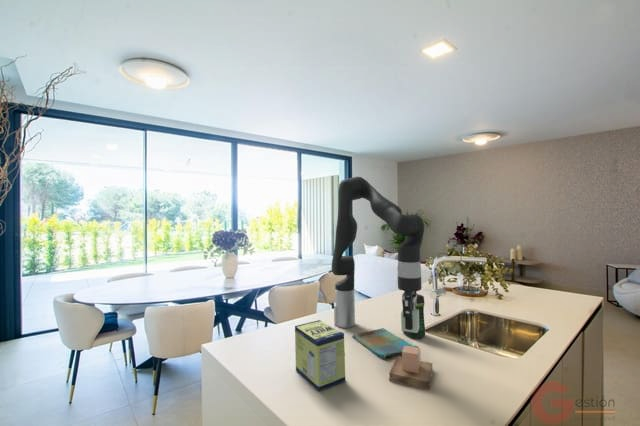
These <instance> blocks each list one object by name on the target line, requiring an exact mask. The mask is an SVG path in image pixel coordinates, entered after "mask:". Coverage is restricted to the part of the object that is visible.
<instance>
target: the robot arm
mask: <svg viewBox="0 0 640 426" xmlns="http://www.w3.org/2000/svg"><path fill="white" fill-rule="evenodd" d="M337 192H338V193H337V194H338V196H337V198H338V199H337V201H338V202H337V203H338V205H337V207H338V208H337V220H336V227H335V238H334V239H335V241H334V242H335V243H334V249H333V255H332V260H331V272H332V274H333V275H334V276H345V277H344V278H343V279H341V280H340V281H337V282H336V283H335V285H334V287H335V288H334V289H335V291H334V292H335V304H334V305H333V311H334V312H333V313H334V314H333V315H334V316H333V317H334V319H333V320H334V326H337V327H339V328H344V329H345V328H347V329H349V328H353V327H354V326H355V325H356V314H355V313H356V310H355V309H356V307H355V302H356V300H355V266H356V265H355V258H354V257H353V256H352V255H343V254H344V253H345V252H346V251H347V250H348V249H349V247H351V246H352V245H353V243H354V242H355V240H356V239H357V232H358V222H357V220H356V219H355V217H354V215H353V214H352V212H351V203H352V202H353V201H356V200H357V201H358V200H360V199H365V200H367V201H369V203H370V208H371V211H372V212H373V213H374V214H375V216H377V217H378V218H380V219H381V220H383V222H385V223H386V224H387V226H388V227H389V229H390V230H391V231H392V232H393V233H394V234H396V235H397V236H401V237H405V239H404V241H403V242H401V243H399V244H398V246H397V269H396V270H397V289H398V290H399V291H404V292H405V293H404V292H403V293H404V295H403V301H402V300H401V304H402V310H403V317H405V328H406V329H408V330H412V329H413V319H412V318H413V311H414V310H415V309H416V305H417V303H416V299H417V294H418V292H420V291H421V290H422V267H421V266H422V265H421V246H422V242H423V238H424V232H425V224H424V223H425V222H424V220H423V218H422V217H421V216H420V215H418V214H413V213H412V214H403V211H402V209H401V208H400V206H399V205H397V204H395V203H394V202H392V201H391V200H389V199H388V198H386V197H384V196H383V195H382V194H381V193H379V191H377V189H376V188H375V187H373V186H372V185H371V184H370V182H368V181H367V180H366V179H365V178H363V177H362V176H353V177H349V178H344V179H342V180H341V181H340V182H339V184H338V191H337ZM407 311H408V312H409V313H410V314H406V313H407Z"/></svg>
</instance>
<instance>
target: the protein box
mask: <svg viewBox="0 0 640 426" xmlns="http://www.w3.org/2000/svg"><path fill="white" fill-rule="evenodd" d="M294 334H295V335H294V340H295V341H294V342H295V343H294V345H295V347H294V348H295V349H294V351H295V371H296V372H297V373H298V374H299V375H300V376H301V377H302V378H304V380H305V381H307V383H308V384H310V385H311V386H312V387H313V388H314V389H315V390H317V392H322V391H324V390H327V389H329V388H331V387H334V386H337V385H339V384H341V383H344V382H346V359H345V356H346V355H345V353H346V352H345V332H342V331H341V330H339V329H337V328H335V327H334V326H332V325H329V324H327V323H326V322H324V321H322V320H320V319H318V320H314V321H310V322H306V323H301V324H297V325H295V326H294Z"/></svg>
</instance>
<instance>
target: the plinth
mask: <svg viewBox="0 0 640 426" xmlns="http://www.w3.org/2000/svg"><path fill="white" fill-rule="evenodd" d="M433 370H434V369H433V362H428V361H424V360H423V361H422V360H420V369H419V373H414V372H409V371H404V370H402V356H399V357H395V358H394V361H393V364H392V367H391V368H390V371H389V374H388V375H389V378H388V380H389V381H390V382H392V383H398V384H401V385H406V386H410V387H415V388H420V389H425V390H430V388H431V382H432V376H433Z"/></svg>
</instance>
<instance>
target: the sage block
mask: <svg viewBox="0 0 640 426" xmlns="http://www.w3.org/2000/svg"><path fill="white" fill-rule="evenodd" d="M406 314H410V313H409V312H408V311H407V313H406ZM412 319H413V329H412V330H408V329H406V328H405V317H403V309H402V310H401V312H400V321H401V322H400V323H401V327H400V328H401V331H402V332H403V331H407V332H414V333H418V330H419V309H415V310H414V311H413V318H412Z"/></svg>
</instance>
